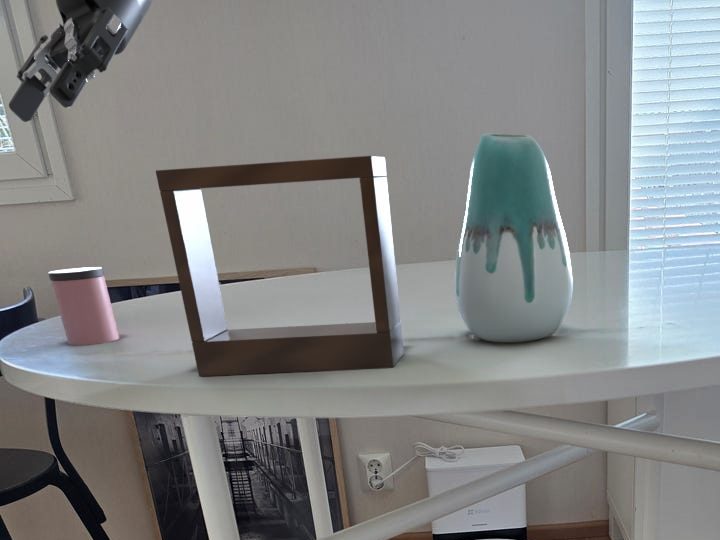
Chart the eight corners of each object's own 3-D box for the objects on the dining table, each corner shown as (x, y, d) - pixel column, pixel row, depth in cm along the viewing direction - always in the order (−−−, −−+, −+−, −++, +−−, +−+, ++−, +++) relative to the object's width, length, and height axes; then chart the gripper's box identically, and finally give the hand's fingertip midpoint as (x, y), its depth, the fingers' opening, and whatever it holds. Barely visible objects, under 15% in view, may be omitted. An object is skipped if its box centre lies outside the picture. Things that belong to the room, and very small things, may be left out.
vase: (593, 338, 83) (594, 124, 74) (483, 353, 80) (471, 130, 71) (542, 323, 93) (538, 132, 84) (442, 336, 89) (427, 138, 81)
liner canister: (60, 351, 96) (38, 274, 92) (83, 342, 100) (63, 268, 97) (107, 348, 95) (87, 271, 91) (129, 339, 100) (111, 265, 96)
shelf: (198, 376, 78) (154, 170, 70) (222, 362, 83) (184, 170, 75) (393, 367, 76) (371, 155, 68) (404, 353, 82) (384, 156, 74)
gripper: (45, -26, 93) (-28, 88, 89) (117, -64, 85) (40, 59, 81) (102, 39, 99) (36, 148, 95) (174, 8, 91) (105, 127, 87)
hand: (38, 107), depth 88 cm, fingers open, 8 cm apart
